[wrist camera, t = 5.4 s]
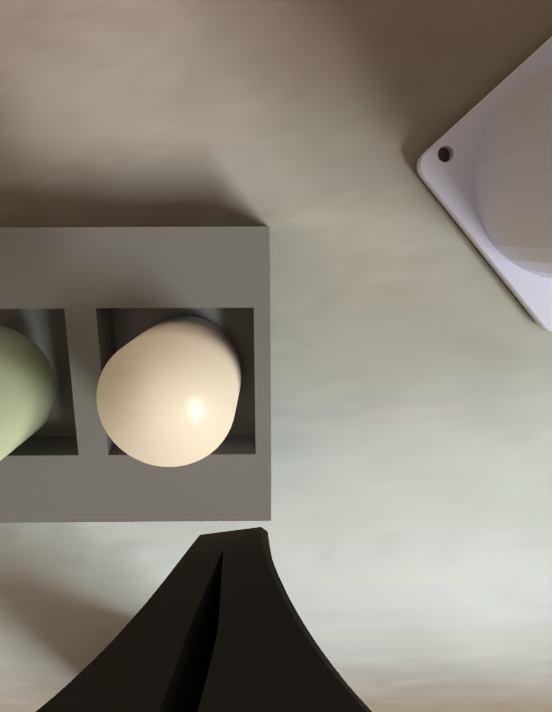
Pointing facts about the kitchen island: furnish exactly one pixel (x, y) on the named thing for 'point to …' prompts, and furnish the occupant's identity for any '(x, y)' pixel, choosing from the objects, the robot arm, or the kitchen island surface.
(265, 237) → the grey slotted tray
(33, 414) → the sage button
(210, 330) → the cream rounded block
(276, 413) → the kitchen island surface
